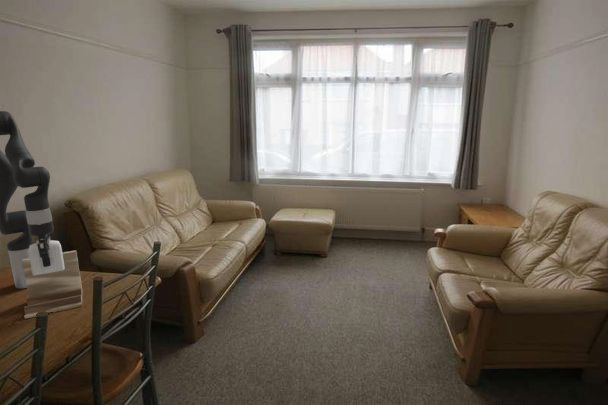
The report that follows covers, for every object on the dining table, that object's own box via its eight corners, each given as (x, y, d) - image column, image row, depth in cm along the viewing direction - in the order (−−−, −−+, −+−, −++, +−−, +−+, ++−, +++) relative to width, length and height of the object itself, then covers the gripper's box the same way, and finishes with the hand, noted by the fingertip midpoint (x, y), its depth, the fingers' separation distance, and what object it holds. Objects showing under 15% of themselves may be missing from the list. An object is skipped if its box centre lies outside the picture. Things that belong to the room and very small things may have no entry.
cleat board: (30, 300, 147) (22, 258, 143) (82, 290, 156) (76, 250, 152) (24, 318, 134) (15, 273, 130) (81, 306, 143) (74, 262, 139)
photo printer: (65, 267, 145) (60, 237, 142) (65, 270, 141) (60, 240, 139) (33, 273, 139) (27, 242, 137) (32, 277, 136) (26, 245, 133)
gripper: (30, 218, 140) (38, 260, 144) (24, 227, 128) (33, 272, 132) (53, 215, 144) (60, 256, 147) (50, 223, 132) (58, 268, 135)
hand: (47, 263), depth 140 cm, fingers closed on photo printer, 4 cm apart
